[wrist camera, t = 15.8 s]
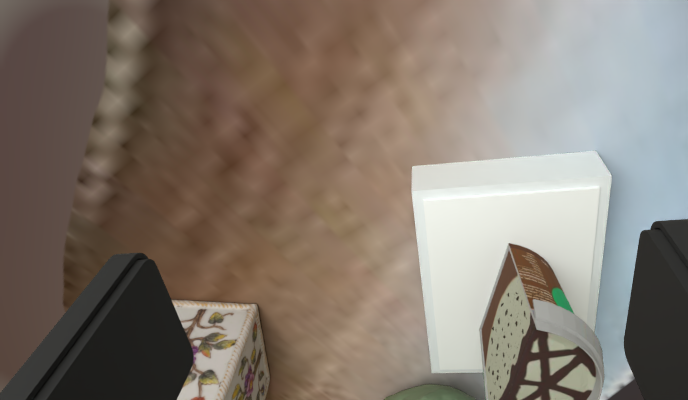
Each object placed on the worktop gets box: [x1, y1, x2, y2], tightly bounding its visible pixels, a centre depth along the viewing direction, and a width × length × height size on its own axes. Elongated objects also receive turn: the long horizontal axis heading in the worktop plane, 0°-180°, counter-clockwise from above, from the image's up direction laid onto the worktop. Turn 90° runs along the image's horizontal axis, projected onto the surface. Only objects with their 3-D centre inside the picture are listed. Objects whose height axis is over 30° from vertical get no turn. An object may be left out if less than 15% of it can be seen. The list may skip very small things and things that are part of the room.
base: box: [412, 151, 612, 373], centre depth 44 cm, size 14×20×4 cm
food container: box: [479, 243, 604, 400], centre depth 38 cm, size 12×6×10 cm, turn 174°
